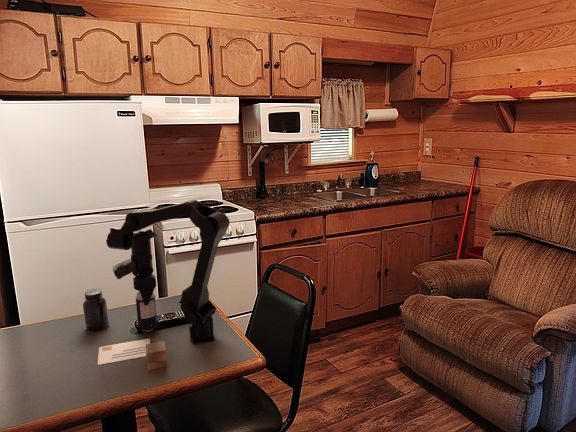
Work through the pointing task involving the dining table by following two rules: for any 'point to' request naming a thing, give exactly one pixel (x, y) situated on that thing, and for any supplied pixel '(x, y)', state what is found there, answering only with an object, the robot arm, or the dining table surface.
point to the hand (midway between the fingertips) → (145, 299)
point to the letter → (122, 351)
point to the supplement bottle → (95, 311)
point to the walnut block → (156, 355)
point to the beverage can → (146, 313)
